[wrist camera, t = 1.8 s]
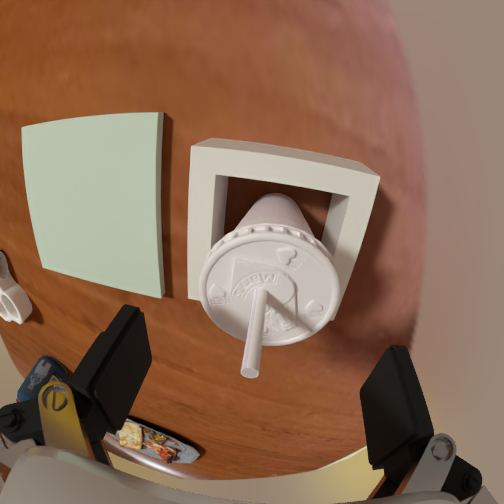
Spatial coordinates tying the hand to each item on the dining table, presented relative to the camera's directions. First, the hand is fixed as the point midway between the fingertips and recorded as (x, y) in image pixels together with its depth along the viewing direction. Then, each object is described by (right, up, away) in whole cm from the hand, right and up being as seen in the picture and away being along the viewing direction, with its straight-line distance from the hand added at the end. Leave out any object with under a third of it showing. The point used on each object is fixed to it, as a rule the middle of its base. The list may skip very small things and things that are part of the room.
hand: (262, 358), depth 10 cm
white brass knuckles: (-42, 0, +21) cm, 47 cm away
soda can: (-37, -17, +29) cm, 50 cm away
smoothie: (+1, +7, +11) cm, 13 cm away
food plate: (-24, -38, +39) cm, 59 cm away
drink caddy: (+1, +7, +11) cm, 13 cm away
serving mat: (-16, +8, +12) cm, 21 cm away
